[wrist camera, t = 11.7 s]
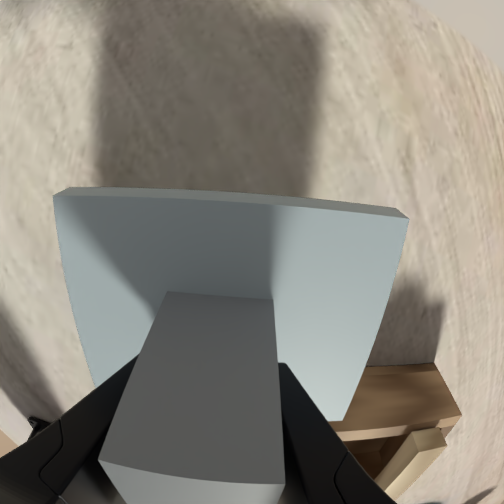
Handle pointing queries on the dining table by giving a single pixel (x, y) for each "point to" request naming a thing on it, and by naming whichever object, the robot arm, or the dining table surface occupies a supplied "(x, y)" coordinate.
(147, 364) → the lid
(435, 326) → the dining table surface
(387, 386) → the toolbox
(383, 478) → the wooden bar
